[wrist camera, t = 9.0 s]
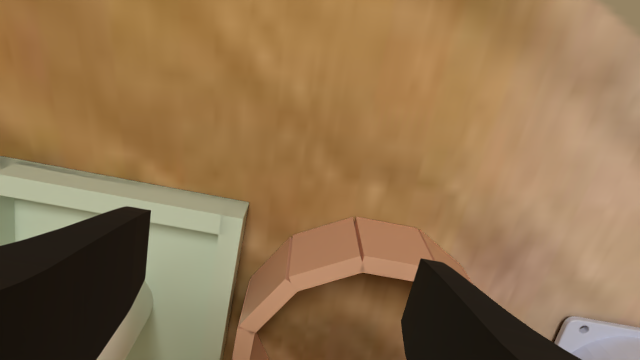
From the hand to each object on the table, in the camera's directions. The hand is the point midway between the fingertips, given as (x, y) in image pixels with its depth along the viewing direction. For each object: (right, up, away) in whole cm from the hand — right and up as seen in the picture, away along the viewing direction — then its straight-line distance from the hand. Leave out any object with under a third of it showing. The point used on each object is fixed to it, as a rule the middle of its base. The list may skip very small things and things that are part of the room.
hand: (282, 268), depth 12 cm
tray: (-10, -4, +12) cm, 16 cm away
